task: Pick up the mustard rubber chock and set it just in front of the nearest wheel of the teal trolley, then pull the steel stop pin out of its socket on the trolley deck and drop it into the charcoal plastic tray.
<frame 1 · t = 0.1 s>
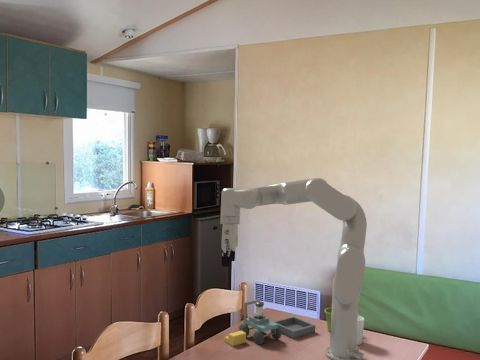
hand: (228, 263, 176), 31 cm above the table, tool pointing down, fingers open, 9 cm apart
white cup: (353, 342, 181), on the table
plant pot: (334, 331, 193), on the table
chock: (234, 342, 177), on the table
trolley: (259, 337, 182), on the table
tray: (293, 330, 191), on the table
stop pin: (258, 320, 183), point 6 cm above the table, touching trolley
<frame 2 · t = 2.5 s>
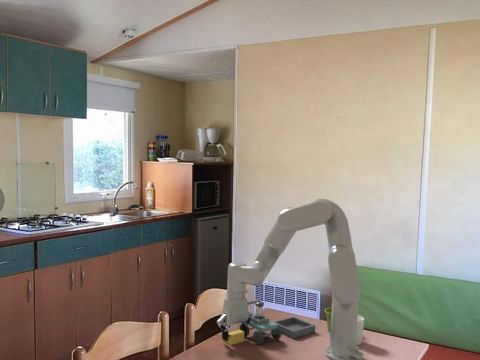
hand: (234, 337, 177), 2 cm above the table, tool pointing down, fingers open, 8 cm apart
chock: (233, 341, 178), on the table
everything else where it was.
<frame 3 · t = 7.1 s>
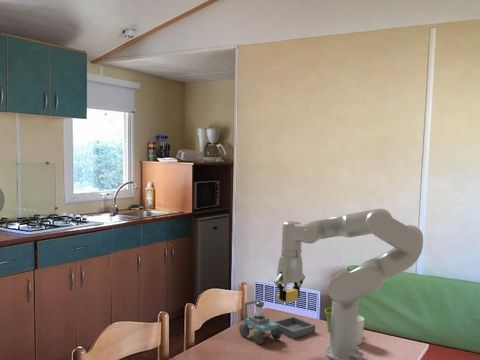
hand: (289, 298, 176), 18 cm above the table, tool pointing down, fingers closed on chock, 6 cm apart
chock: (286, 299, 177), point 17 cm above the table, touching gripper
everything else where it was.
when the fingers open (2 cm above the table, at t = 11.4 s): chock drops 2 cm, on the table.
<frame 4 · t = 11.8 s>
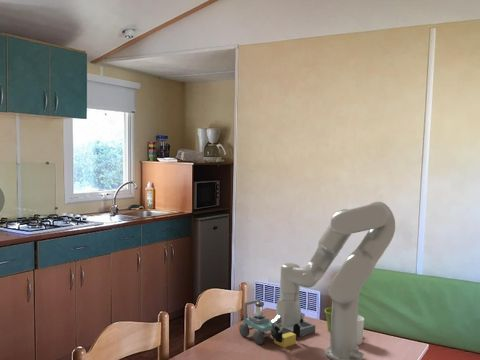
hand: (287, 338, 176), 2 cm above the table, tool pointing down, fingers open, 9 cm apart
chock: (284, 343, 178), on the table
everything else where it was.
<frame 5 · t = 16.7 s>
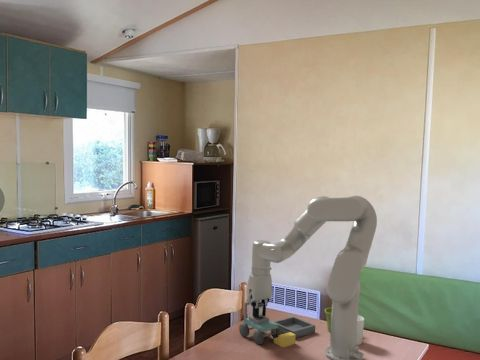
hand: (259, 315, 183), 9 cm above the table, tool pointing down, fingers closed on stop pin, 3 cm apart
stop pin: (258, 320, 183), point 7 cm above the table, touching gripper, trolley
everything else where it was.
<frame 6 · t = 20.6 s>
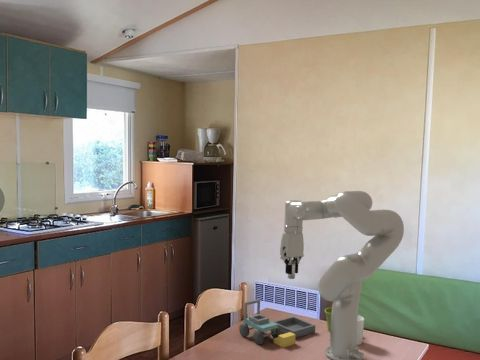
hand: (291, 272, 189), 25 cm above the table, tool pointing down, fingers closed on stop pin, 3 cm apart
stop pin: (291, 278, 189), point 23 cm above the table, touching gripper
everything else where it was.
when the fingers open (5 cm above the table, at t = 24.4 s): stop pin drops 2 cm, resting on tray.
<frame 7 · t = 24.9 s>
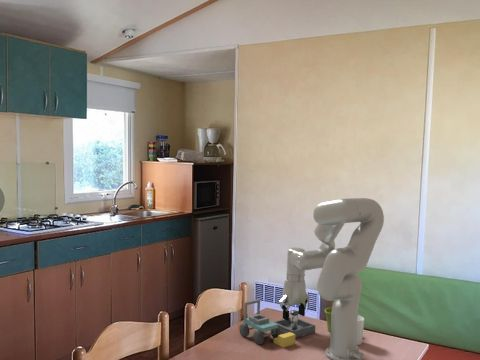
hand: (293, 317, 191), 6 cm above the table, tool pointing down, fingers open, 9 cm apart
stop pin: (293, 328, 191), point 1 cm above the table, touching tray
everything else where it was.
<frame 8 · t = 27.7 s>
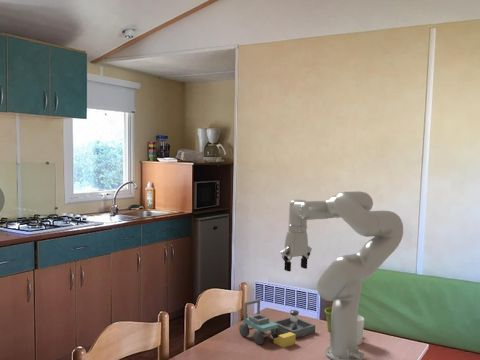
hand: (295, 269, 190), 26 cm above the table, tool pointing down, fingers open, 9 cm apart
nothing on the table moved.
at the end: chock 1.3 cm from the target spot on the table beside the trolley, on the table; chock tilted 0°; stop pin inside the target area on the tray (0.4 cm from its centre), point 0.6 cm above the tray's base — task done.
